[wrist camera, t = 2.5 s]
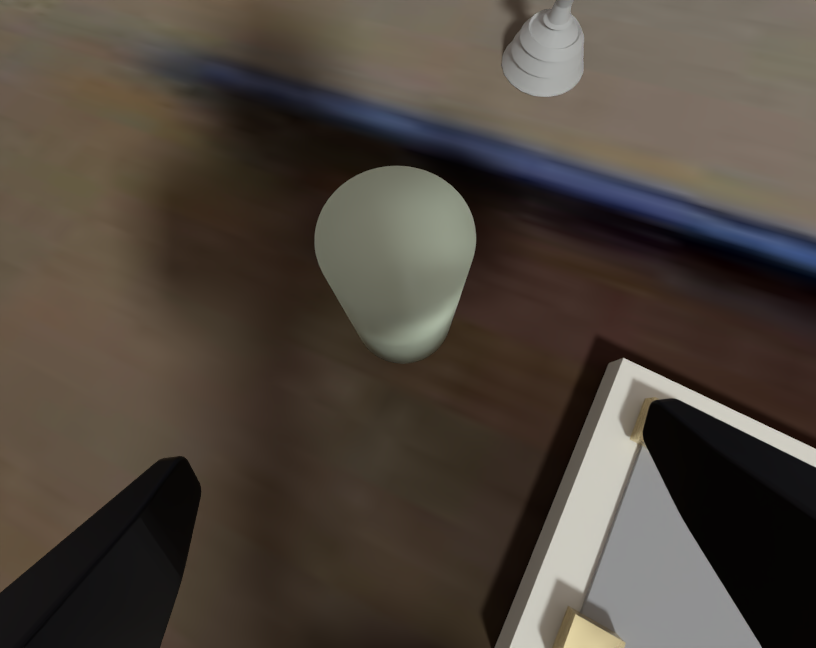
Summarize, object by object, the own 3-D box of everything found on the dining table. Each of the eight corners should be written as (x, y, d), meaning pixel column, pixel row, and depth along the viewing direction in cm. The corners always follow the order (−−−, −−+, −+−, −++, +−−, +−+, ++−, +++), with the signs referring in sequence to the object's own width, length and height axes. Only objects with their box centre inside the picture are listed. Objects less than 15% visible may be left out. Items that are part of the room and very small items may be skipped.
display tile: (828, 854, 16) (905, 932, 13) (492, 652, 17) (505, 687, 15) (900, 502, 19) (973, 513, 16) (608, 363, 20) (634, 354, 18)
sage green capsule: (374, 378, 20) (345, 338, 12) (342, 290, 22) (294, 196, 13) (466, 342, 21) (503, 277, 12) (429, 258, 22) (438, 145, 13)
